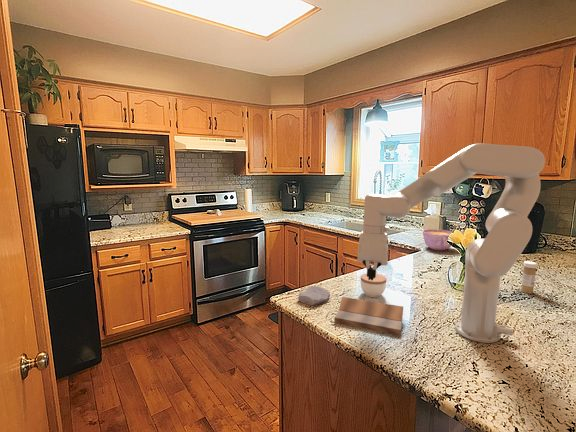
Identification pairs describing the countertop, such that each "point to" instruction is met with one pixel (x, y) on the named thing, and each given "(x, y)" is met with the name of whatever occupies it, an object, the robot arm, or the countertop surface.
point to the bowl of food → (436, 239)
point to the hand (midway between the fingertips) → (371, 278)
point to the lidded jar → (373, 285)
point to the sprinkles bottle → (528, 277)
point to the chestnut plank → (371, 308)
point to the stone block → (314, 295)
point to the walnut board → (368, 322)
